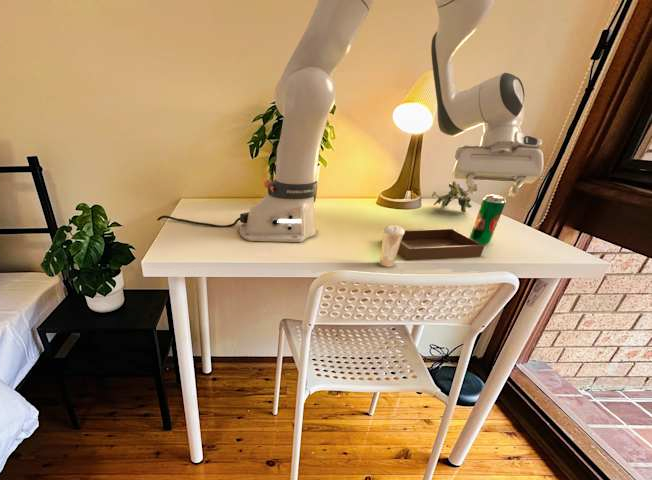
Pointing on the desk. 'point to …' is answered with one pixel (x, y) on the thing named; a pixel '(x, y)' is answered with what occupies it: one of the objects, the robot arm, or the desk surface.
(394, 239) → the milkshake
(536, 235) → the desk surface
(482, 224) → the soda can
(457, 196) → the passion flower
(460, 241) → the tray
